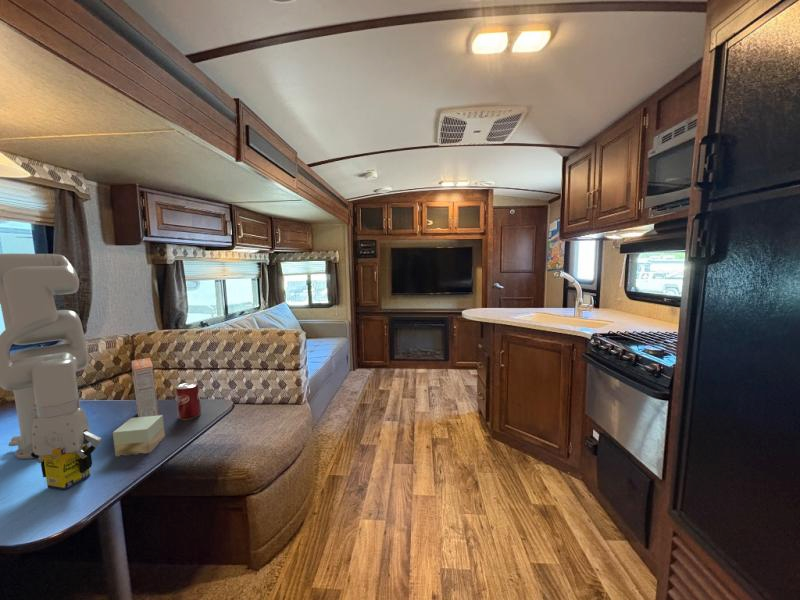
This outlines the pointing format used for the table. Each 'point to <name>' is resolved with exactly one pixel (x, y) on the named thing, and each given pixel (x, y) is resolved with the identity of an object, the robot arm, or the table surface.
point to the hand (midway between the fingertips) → (68, 471)
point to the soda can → (188, 400)
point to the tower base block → (140, 445)
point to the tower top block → (138, 430)
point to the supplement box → (63, 469)
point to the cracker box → (144, 387)
